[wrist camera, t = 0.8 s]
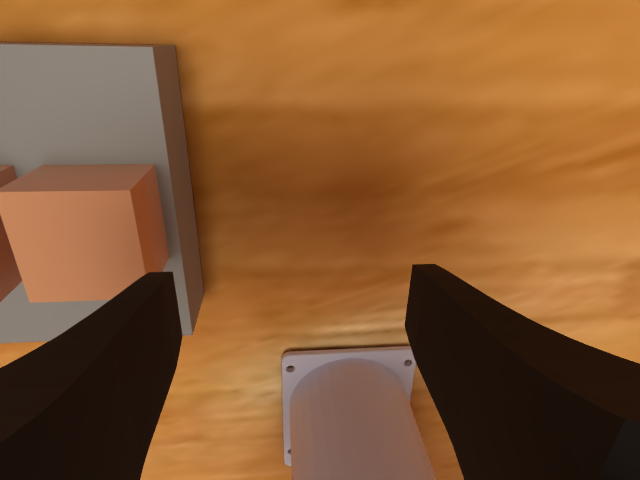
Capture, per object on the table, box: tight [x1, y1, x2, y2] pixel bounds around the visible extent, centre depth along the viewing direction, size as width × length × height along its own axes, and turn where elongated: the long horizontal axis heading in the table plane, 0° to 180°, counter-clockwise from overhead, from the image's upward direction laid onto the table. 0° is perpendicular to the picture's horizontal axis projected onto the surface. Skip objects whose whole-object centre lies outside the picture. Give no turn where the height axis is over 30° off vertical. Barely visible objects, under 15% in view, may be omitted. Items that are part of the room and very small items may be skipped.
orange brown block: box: [0, 164, 169, 303], centre depth 15 cm, size 4×4×3 cm
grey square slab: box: [0, 42, 204, 343], centre depth 18 cm, size 12×12×4 cm
